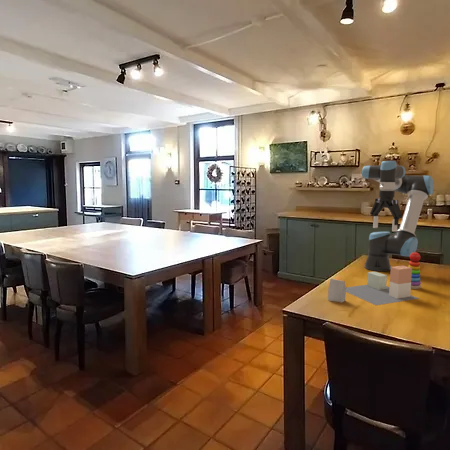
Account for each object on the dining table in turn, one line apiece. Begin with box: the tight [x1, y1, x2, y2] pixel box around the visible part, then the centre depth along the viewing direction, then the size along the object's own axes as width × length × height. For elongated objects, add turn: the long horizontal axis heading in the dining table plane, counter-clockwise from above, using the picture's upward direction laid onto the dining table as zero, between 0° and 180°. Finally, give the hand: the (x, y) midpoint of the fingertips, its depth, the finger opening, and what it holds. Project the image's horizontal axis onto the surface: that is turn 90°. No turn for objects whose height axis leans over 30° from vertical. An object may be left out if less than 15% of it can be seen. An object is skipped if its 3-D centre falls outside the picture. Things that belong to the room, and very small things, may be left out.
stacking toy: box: [407, 251, 422, 290], centre depth 189 cm, size 8×8×19 cm
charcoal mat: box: [345, 284, 420, 306], centre depth 179 cm, size 26×26×1 cm
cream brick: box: [389, 280, 412, 299], centre depth 175 cm, size 8×5×7 cm, turn 111°
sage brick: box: [366, 271, 388, 290], centre depth 188 cm, size 8×5×7 cm, turn 21°
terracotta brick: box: [389, 265, 412, 284], centre depth 174 cm, size 8×5×7 cm, turn 111°
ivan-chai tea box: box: [327, 278, 347, 303], centre depth 169 cm, size 4×7×10 cm, turn 49°
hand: (384, 229), depth 198 cm, fingers open, 13 cm apart
